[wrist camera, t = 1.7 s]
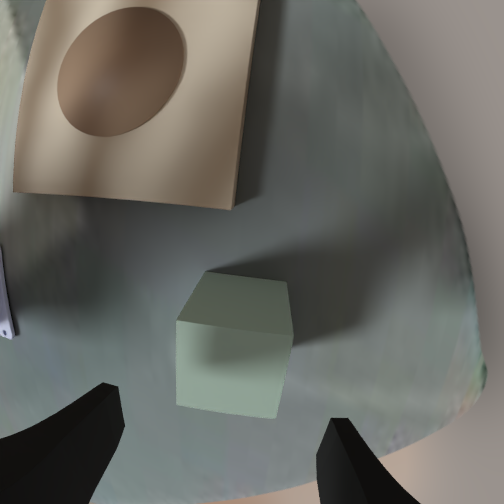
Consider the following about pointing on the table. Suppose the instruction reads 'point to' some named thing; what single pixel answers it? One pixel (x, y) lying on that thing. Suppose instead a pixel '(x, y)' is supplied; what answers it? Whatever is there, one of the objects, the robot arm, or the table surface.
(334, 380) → the table surface
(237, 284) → the green block
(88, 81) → the display base
